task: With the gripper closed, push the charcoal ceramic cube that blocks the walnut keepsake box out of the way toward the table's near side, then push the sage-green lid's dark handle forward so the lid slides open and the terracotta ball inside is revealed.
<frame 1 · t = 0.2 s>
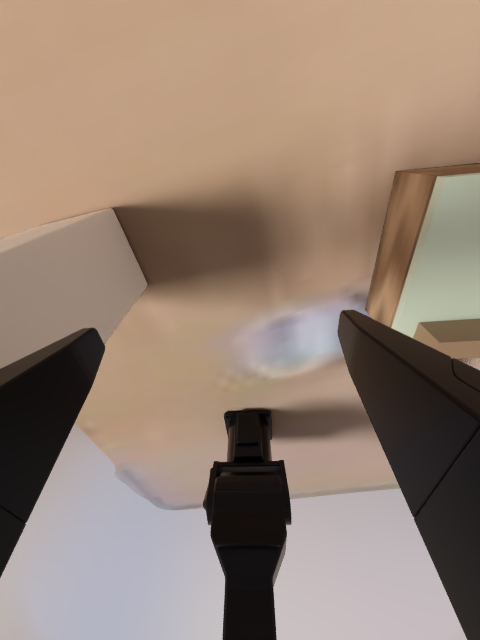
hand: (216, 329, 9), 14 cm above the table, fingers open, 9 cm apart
keepsake box: (438, 246, 21), on the table
milk carton: (97, 256, 23), on the table
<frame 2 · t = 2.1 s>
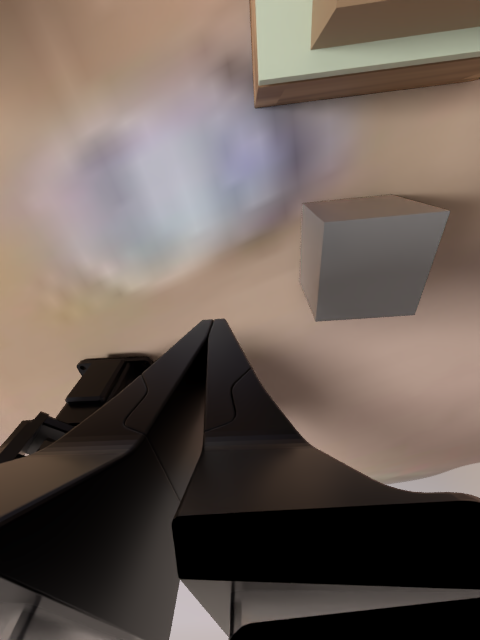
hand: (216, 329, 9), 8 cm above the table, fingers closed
cube: (340, 242, 16), on the table
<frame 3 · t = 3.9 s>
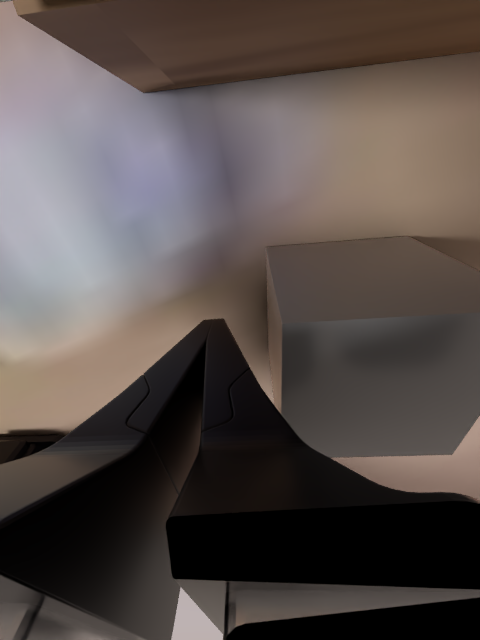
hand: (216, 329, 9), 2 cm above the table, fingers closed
cube: (327, 302, 10), on the table, touching gripper
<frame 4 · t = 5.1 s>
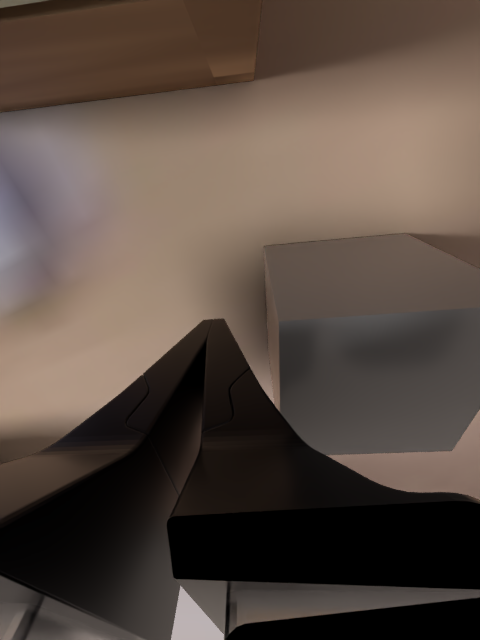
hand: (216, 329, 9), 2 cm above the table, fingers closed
cube: (326, 300, 10), on the table, touching gripper
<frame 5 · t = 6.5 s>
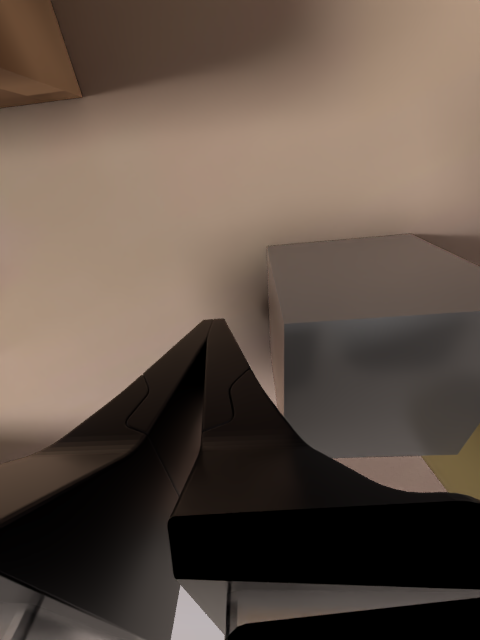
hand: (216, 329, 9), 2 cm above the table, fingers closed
pepper shaker: (454, 406, 14), on the table
cube: (330, 301, 10), on the table, touching gripper
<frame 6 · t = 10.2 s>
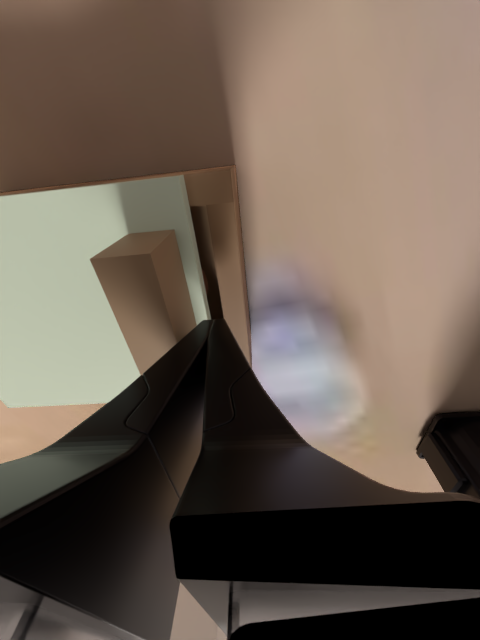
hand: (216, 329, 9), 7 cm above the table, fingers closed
keepsake box: (146, 273, 15), on the table
milk carton: (206, 494, 32), on the table
lid: (54, 339, 10), point 6 cm above the table, slide at 1.5 cm, touching gripper
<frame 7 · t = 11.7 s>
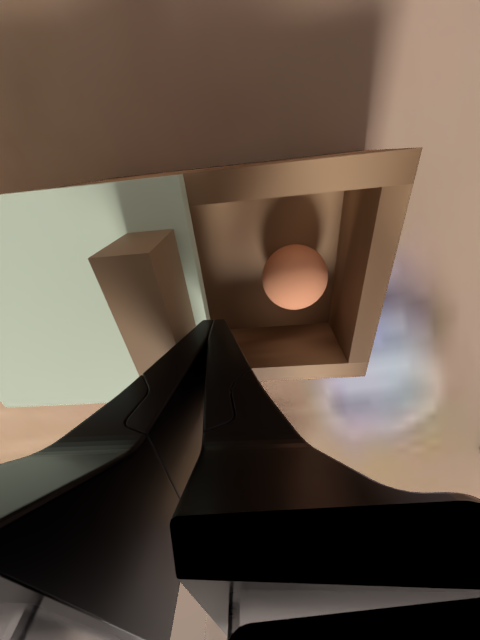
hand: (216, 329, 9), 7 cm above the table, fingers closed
keepsake box: (244, 264, 15), on the table
milk carton: (252, 493, 31), on the table
lid: (52, 338, 10), point 6 cm above the table, slide at 7.6 cm, touching gripper
ball: (294, 277, 12), point 2 cm above the table, touching keepsake box
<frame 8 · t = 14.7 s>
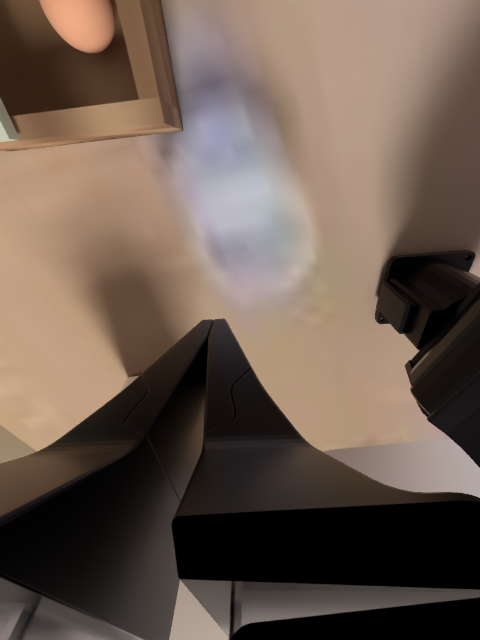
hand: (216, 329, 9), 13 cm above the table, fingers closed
keepsake box: (59, 32, 14), on the table
ball: (77, 4, 12), point 2 cm above the table, touching keepsake box
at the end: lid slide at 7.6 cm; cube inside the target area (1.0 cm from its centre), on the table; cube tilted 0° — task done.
